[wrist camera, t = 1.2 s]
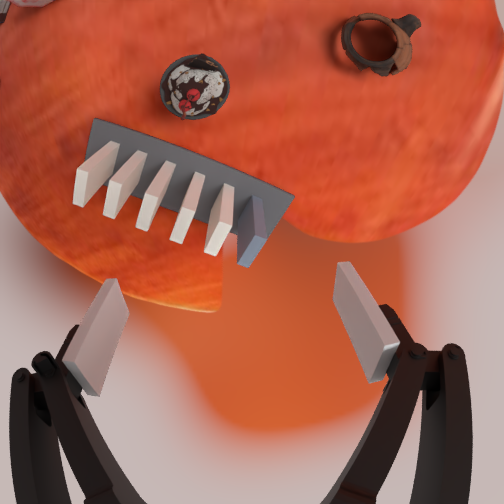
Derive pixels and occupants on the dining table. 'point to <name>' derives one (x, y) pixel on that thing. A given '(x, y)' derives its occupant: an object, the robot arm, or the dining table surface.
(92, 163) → the domino
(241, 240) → the domino
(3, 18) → the protein box
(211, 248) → the domino
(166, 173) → the domino
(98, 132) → the runner mat
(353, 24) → the brown ring with handle
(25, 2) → the tea bag
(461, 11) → the dining table surface
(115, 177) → the domino
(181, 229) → the domino
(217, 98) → the sundae
